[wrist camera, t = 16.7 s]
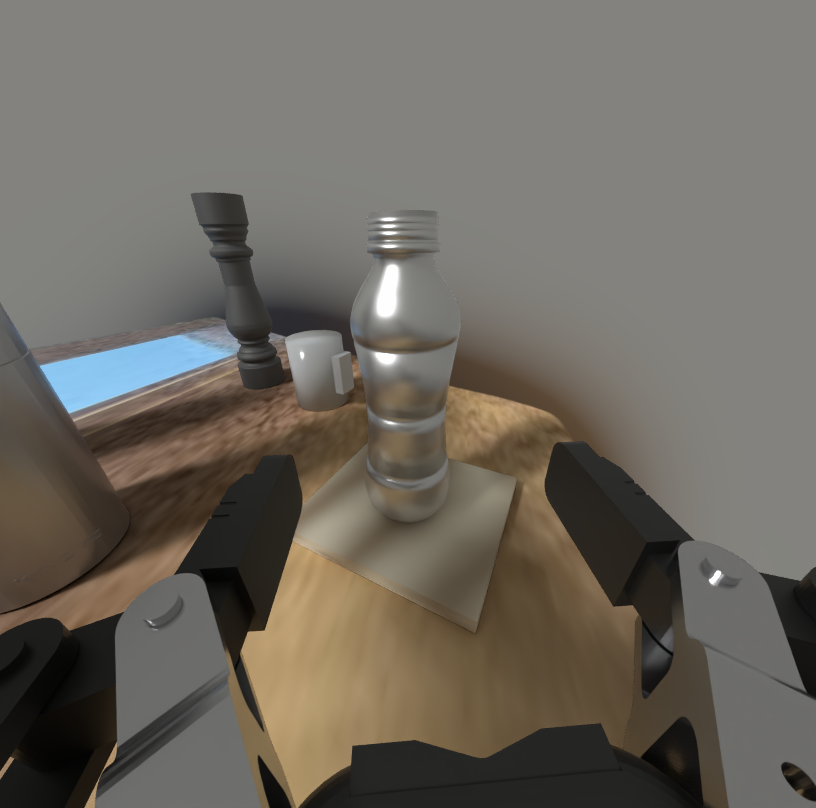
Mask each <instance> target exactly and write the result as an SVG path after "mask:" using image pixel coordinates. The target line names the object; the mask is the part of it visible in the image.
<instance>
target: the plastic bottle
mask: <svg viewBox="0 0 816 808" xmlns="http://www.w3.org/2000/svg"><path fill="white" fill-rule="evenodd" d="M367 217H368V218H367V229H368V242H369V244H367V252H368V253H372V254H373V257H374V261H373V267H372V269H371V271H370V272H369V274H368V276H367V278H366V280H365V281H364V283H363V285H362V286H361V288H360V290H359V293H358V295H357V297H356V299H355V301H354V304H353V307H352V313H351V319H350V325H351V331H352V337H353V339H354V345H355V349H356V353H357V358H358V362H359V366H360V370H361V374H362V379H363V385H364V392H365V399H366V403H367V414H368V454H367V458H366V466H365V485H366V489H367V492H368V495H369V498H370V501H371V503H372V504H373V506H374V507H375V508H376V509H377V510H378V511H379V512H381V513H382V514H383V515H385V516H386V517H388V518H390V519H392V520H394V521H398V522H404V523H413V522H419V521H422V520H425V519H427V518H429V517H430V516H432V515H433V514H435V513H436V512H437V511H438V510H439V509H440V508H441V507H442V506H443V504H444V502H445V500H446V496H447V493H448V490H449V486H450V472H449V463H448V458H447V454H446V435H445V415H446V402H447V397H448V389H449V380H450V375H451V371H452V366H453V361H454V357H455V352H456V348H457V343H458V340H457V339H458V337H459V333H460V326H461V318H460V313H459V308H458V304H457V301H456V299H455V298H454V296H453V294H452V292H451V290H450V288H449V286H448V285H447V283H446V281H444V279H443V277H442V275H441V274H440V272H439V271H438V269H437V268H436V266H435V262H434V253H435V252H439V251H440V243H438V212H436V211H424V210H421V211H420V210H404V211H403V210H401V211H379V212H370V213H367Z"/></svg>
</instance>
